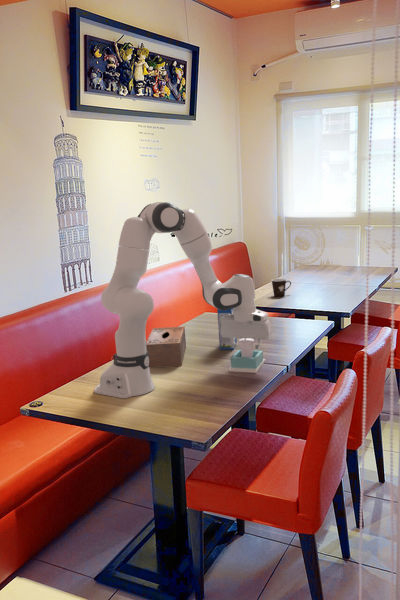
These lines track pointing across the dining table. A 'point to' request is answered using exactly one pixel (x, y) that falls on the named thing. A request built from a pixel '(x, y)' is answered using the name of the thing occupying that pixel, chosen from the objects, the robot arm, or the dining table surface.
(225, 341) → the milk carton
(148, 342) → the tissue box cover
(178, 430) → the dining table surface
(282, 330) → the dining table surface
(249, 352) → the smoothie
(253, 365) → the holder board
